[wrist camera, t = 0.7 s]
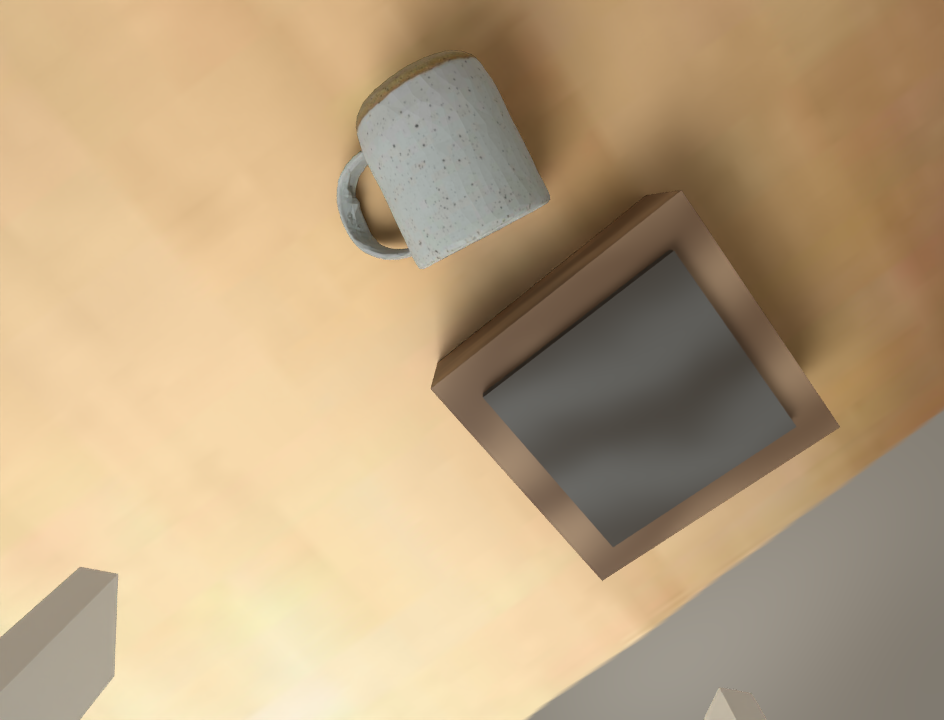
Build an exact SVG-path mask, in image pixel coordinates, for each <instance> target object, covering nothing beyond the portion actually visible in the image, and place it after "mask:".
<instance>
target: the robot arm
mask: <svg viewBox="0 0 944 720" xmlns="http://www.w3.org/2000/svg"><path fill="white" fill-rule="evenodd" d="M117 589H118V574H116V573H110V572H105V571H100V570H94V569H89V568H84V567H79V568H78V569H77V570H76V571H75V572H74V573H73V574H71V575H70V576H69V577H68V578H67V579H66V580H65V581H64V582H62V583H61V584H60V585H59V586H58V587H57V588H56V589H54V590H53V591H52V592H51V593H50V594H49V595H48V596H47V597H45V598H44V599H43V600H42V601H41V602H40V603H39V604H38V605H36V606H35V607H34V608H33V609H32V610H31V611H30V612H29V613H27V614H26V615H25V616H24V617H23V618H22V619H21V620H20V621H18V622H17V623H16V624H15V625H14V626H13V627H12V628H11V629H9V630H8V631H7V632H6V633H5V634H4V635H3V636H1V637H0V720H80V719H81V718H82V716H83V715H84V714H85V712H86V711H87V710H88V709H89V707H90V706H91V705H92V704H93V702H94V701H95V700H96V698H97V697H98V696H99V695H100V693H101V692H102V691H103V690H104V688H105V687H106V686H107V684H108V683H109V682H110V681H111V679H112V678H113V677H114V669H115V642H116V616H117ZM704 720H767V719H766V717H765V715H764V714H763V712H762V710H761V709H760V707H759V705H758V703H757V702H756V700H755V698H754V697H753V695H752V693H748V692H742V691H737V690H732V689H726V688H721V687H719V689H718V691H717V693H716V695H715V697H714V699H713V701H712V703H711V705H710V707H709V710H708V712H707V714H706V716H705V718H704Z"/></svg>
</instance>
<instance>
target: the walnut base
mask: <svg viewBox="0 0 944 720" xmlns="http://www.w3.org/2000/svg"><path fill="white" fill-rule="evenodd" d="M431 390H432V391H433V392H434V393H435V394H436V395H437V396H438V398H439V399H440V400H441V401H442V402H443V403H444V404H445V405H446V407H447V408H448V409H449V410H450V411H451V412H452V413H453V414H454V415H455V417H456V418H457V419H458V420H459V421H460V422H461V423H462V424H463V426H464V427H465V428H466V429H467V430H468V431H469V432H470V433H471V434H472V436H473V437H474V438H475V439H476V440H477V441H478V442H479V443H480V445H481V446H482V447H483V448H484V449H485V450H486V451H487V452H488V454H489V455H490V456H491V457H492V458H493V459H494V460H495V461H496V462H497V464H498V465H499V466H500V467H501V468H502V469H503V470H504V471H505V473H506V474H507V475H508V476H509V477H510V478H511V479H512V480H513V481H514V483H515V484H516V485H517V486H518V487H519V488H520V489H521V490H522V492H523V493H524V494H525V495H526V496H527V497H528V498H529V499H530V500H531V502H532V503H533V504H534V505H535V506H536V507H537V508H538V509H539V511H540V512H541V513H542V514H543V515H544V516H545V517H546V518H547V520H548V521H549V522H550V523H551V524H552V525H553V526H554V527H555V528H556V530H557V531H558V532H559V533H560V534H561V535H562V536H563V537H564V539H565V540H566V541H567V542H568V543H569V544H570V545H571V546H572V547H573V549H574V550H575V551H576V552H577V553H578V554H579V555H580V556H581V558H582V559H583V560H584V561H585V562H586V563H587V564H588V565H589V566H590V568H591V569H592V570H593V571H594V572H595V573H596V574H597V575H598V577H599V578H600V579H601V580H602V581H603V580H604V579H606V578H607V577H609V576H610V575H612V574H613V573H615V572H617V571H618V570H620V569H621V568H623V567H624V566H626V565H627V564H629V563H630V562H632V561H634V560H635V559H637V558H638V557H640V556H641V555H643V554H644V553H646V552H647V551H649V550H651V549H652V548H654V547H655V546H657V545H658V544H660V543H661V542H663V541H665V540H666V539H668V538H669V537H671V536H672V535H674V534H675V533H677V532H678V531H680V530H682V529H683V528H685V527H686V526H688V525H689V524H691V523H692V522H694V521H695V520H697V519H699V518H700V517H702V516H703V515H705V514H706V513H708V512H709V511H711V510H712V509H714V508H716V507H717V506H719V505H720V504H722V503H723V502H725V501H726V500H728V499H730V498H731V497H733V496H734V495H736V494H737V493H739V492H740V491H742V490H743V489H745V488H747V487H748V486H750V485H751V484H753V483H754V482H756V481H757V480H759V479H760V478H762V477H764V476H765V475H767V474H768V473H770V472H771V471H773V470H774V469H776V468H778V467H779V466H781V465H782V464H784V463H785V462H787V461H788V460H790V459H791V458H793V457H795V456H796V455H798V454H799V453H801V452H802V451H804V450H805V449H807V448H808V447H810V446H812V445H813V444H815V443H816V442H818V441H819V440H821V439H822V438H824V437H825V436H827V435H829V434H830V433H832V432H833V431H835V430H836V429H838V428H839V427H840V426H839V425H838V423H837V422H836V420H835V419H834V417H833V416H832V414H831V413H830V411H829V410H828V408H827V407H826V405H825V404H824V402H823V401H822V399H821V398H820V396H819V395H818V393H817V392H816V390H815V389H814V387H813V386H812V384H811V383H810V381H809V380H808V378H807V377H806V375H805V374H804V372H803V371H802V369H801V368H800V366H799V365H798V363H797V362H796V360H795V359H794V357H793V356H792V354H791V353H790V351H789V350H788V348H787V347H786V345H785V344H784V342H783V341H782V339H781V338H780V337H779V335H778V334H777V332H776V331H775V329H774V328H773V326H772V325H771V323H770V322H769V320H768V319H767V317H766V316H765V314H764V313H763V311H762V310H761V308H760V307H759V305H758V304H757V302H756V301H755V299H754V298H753V296H752V295H751V293H750V292H749V290H748V289H747V287H746V286H745V284H744V283H743V281H742V280H741V278H740V277H739V275H738V274H737V272H736V271H735V269H734V268H733V266H732V265H731V263H730V262H729V260H728V259H727V257H726V256H725V254H724V253H723V251H722V250H721V248H720V247H719V245H718V244H717V243H716V241H715V240H714V238H713V237H712V235H711V234H710V232H709V231H708V229H707V228H706V226H705V225H704V223H703V222H702V220H701V219H700V217H699V216H698V214H697V213H696V211H695V210H694V208H693V207H692V205H691V204H690V202H689V201H688V199H687V198H686V196H685V195H684V193H683V192H682V190H680V191H673V192H666V193H659V194H652V195H646V196H645V197H644V198H643V199H641V200H640V201H639V202H638V203H636V204H635V205H634V206H633V207H631V208H630V209H629V210H628V211H626V212H625V213H624V214H623V215H621V216H620V217H619V218H618V219H616V220H615V221H614V222H613V223H611V224H610V225H609V226H608V227H606V228H605V229H604V230H603V231H601V232H600V233H599V234H598V235H596V236H595V237H594V238H593V239H591V240H590V241H589V242H588V243H586V244H585V245H584V246H583V247H581V248H580V249H579V250H578V251H576V252H575V253H574V254H573V255H571V256H570V257H569V258H568V259H566V260H565V261H564V262H563V263H561V264H560V265H559V266H558V267H556V268H555V269H554V270H553V271H551V272H550V273H549V274H548V275H547V276H545V277H544V278H543V279H542V280H540V281H539V282H538V283H537V284H535V285H534V286H533V287H532V288H530V289H529V290H528V291H527V292H525V293H524V294H523V295H522V296H520V297H519V298H518V299H517V300H515V301H514V302H513V303H512V304H510V305H509V306H508V307H507V308H505V309H504V310H503V311H502V312H500V313H499V314H498V315H497V316H495V317H494V318H493V319H492V320H490V321H489V322H488V323H487V324H485V325H484V326H483V327H482V328H480V329H479V330H478V331H477V332H475V333H474V334H473V335H472V336H470V337H469V338H468V339H467V340H465V341H464V342H463V343H462V344H460V345H459V346H458V347H457V348H455V349H454V350H453V351H452V352H450V353H449V354H448V355H447V356H445V357H444V358H443V359H442V360H441V361H439V362H438V363H437V367H436V371H435V374H434V378H433V382H432V386H431Z"/></svg>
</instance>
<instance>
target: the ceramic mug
mask: <svg viewBox="0 0 944 720" xmlns="http://www.w3.org/2000/svg"><path fill="white" fill-rule="evenodd" d="M356 130H357V135H358V139H359V142H360V146H361V149H362V151H360V152H359V153H358V154H357V155H355V156H354V157H353V158H352V159H351V160H350V161H349V162H348V163H347V164H346V166H345V168H344V170H343V172H342V173H341V175H340V178H339V180H338V187H337V205H338V210H339V213H340V217H341V220H342V223H343V225H344V227H345V229H346V231H347V233H348V235H349V236H350V238H351V239H352V241H353V242H354V243H355V245H356V246H357V247H358V248H360V249H361V250H362V251H364V252H365V253H367V254H369V255H371V256H374V257H376V258H381V259H384V260H397V259H403V258H407V257H411V256H412V257H413V259H414V261H415V263H416V264H417V266H418V267H419V269H425V268H427V267H428V266H431V265H432V264H434V263H436V262H438V261H439V260H441V259H444V258H446V257H447V256H449V255H451V254H453V253H455V252H457V251H459V250H461V249H463V248H465V247H466V246H468V245H470V244H472V243H474V242H476V241H478V240H480V239H482V238H484V237H486V236H488V235H489V234H491V233H493V232H495V231H497V230H500V229H501V228H503V227H504V226H507V225H508V224H510V223H512V222H514V221H516V220H518V219H520V218H522V217H523V216H525V215H527V214H529V213H531V212H533V211H535V210H536V209H538V208H540V207H542V206H543V205H545V204H547V203H548V202H549V200H550V195H549V192H548V190H547V188H546V186H545V184H544V182H543V180H542V178H541V176H540V175H539V173H538V171H537V169H536V166H535V164H534V162H533V160H532V158H531V156H530V154H529V152H528V150H527V148H526V146H525V144H524V142H523V140H522V138H521V136H520V134H519V132H518V130H517V128H516V126H515V124H514V122H513V121H512V119H511V116H510V114H509V112H508V110H507V108H506V106H505V104H504V101H503V99H502V97H501V95H500V93H499V91H498V89H497V87H496V85H495V83H494V82H493V80H492V79H491V77H490V76H489V74H488V73H487V72H486V70H485V69H484V67H483V66H482V64H481V63H480V62H479V61H478V60H477V58H476V57H474V56H473V55H471V54H469V53H466V52H463V51H453V50H451V51H444V52H440V53H436V54H433V55H430V56H427V57H425V58H422V59H420V60H418V61H416V62H414V63H412V64H410V65H408V66H407V67H405V68H403V69H401V70H400V71H399V72H397V73H396V74H394V75H393V76H391V77H390V78H389V79H387V80H386V81H385V82H384V83H382V84H381V85H380V86H379V87H378V88H376V89H375V90H374V91H373V92H372V93H371V94H370V96H369V97H368V98H367V99H366V100H365V101H364V102H363V104H362V106H361V108H360V111H359V113H358V115H357V121H356ZM367 165H369V168H370V170H371V172H372V174H373V176H374V178H375V179H376V181H377V183H378V185H379V187H380V189H381V191H382V193H383V195H384V197H385V199H386V201H387V203H388V205H389V208H390V210H391V212H392V214H393V216H394V219H395V221H396V223H397V225H398V227H399V229H400V231H401V233H402V235H403V237H404V239H405V242H406V244H407V246H408V248H407V249H391V248H388V247H385V246H383V245H381V244H380V243H378V242H377V240H376V239H375V238H374V237H373V236H372V234H371V232H370V231H369V228H368V226H367V224H366V221H365V219H364V217H363V215H362V212H361V209H360V202H359V201H358V199H357V198H356V186H357V182H358V179H359V176H360V175H361V173H362V172H363V171H364V169H365V167H366V166H367Z"/></svg>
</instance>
